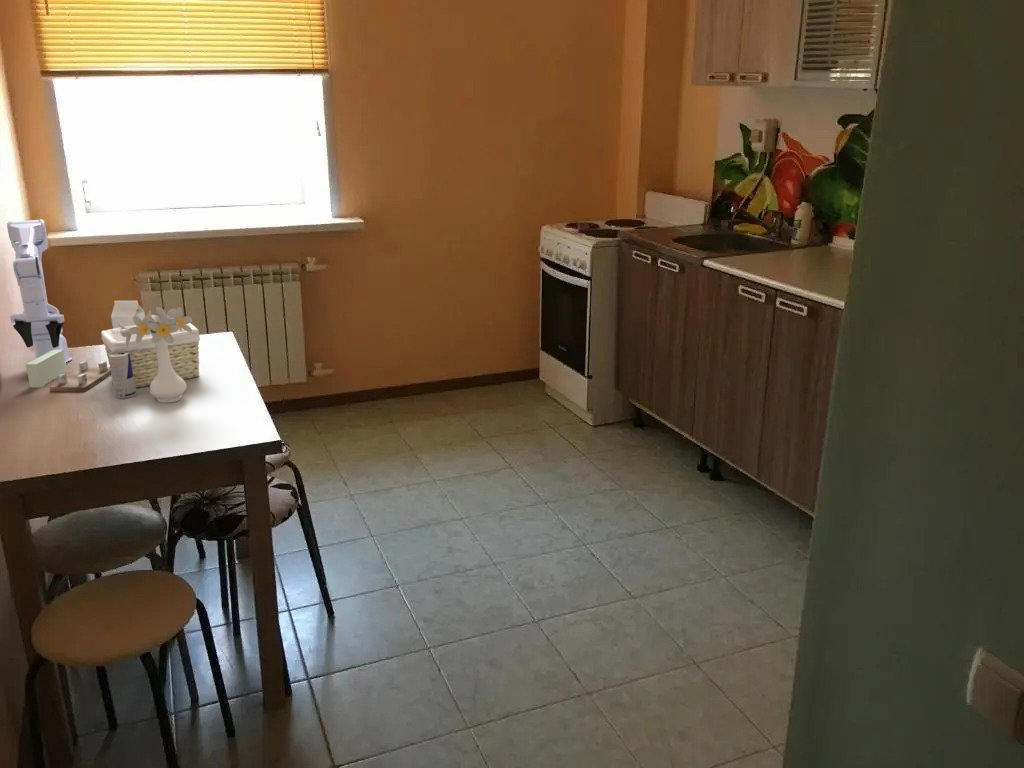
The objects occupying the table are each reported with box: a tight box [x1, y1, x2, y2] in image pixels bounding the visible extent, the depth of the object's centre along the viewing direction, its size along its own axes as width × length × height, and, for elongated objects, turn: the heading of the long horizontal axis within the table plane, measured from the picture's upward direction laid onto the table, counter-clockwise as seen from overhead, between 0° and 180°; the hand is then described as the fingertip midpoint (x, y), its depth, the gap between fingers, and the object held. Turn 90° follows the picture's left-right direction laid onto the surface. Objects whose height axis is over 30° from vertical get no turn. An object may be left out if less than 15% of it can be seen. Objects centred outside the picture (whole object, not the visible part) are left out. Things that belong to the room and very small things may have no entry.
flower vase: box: [117, 306, 193, 404], centre depth 228 cm, size 13×18×25 cm
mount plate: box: [49, 366, 111, 392], centre depth 247 cm, size 18×10×1 cm, turn 177°
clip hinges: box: [56, 360, 108, 385], centre depth 247 cm, size 14×7×2 cm, turn 177°
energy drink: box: [108, 351, 137, 400], centre depth 233 cm, size 5×5×12 cm
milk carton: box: [110, 300, 146, 329], centre depth 262 cm, size 7×7×19 cm
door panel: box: [25, 350, 68, 388], centre depth 248 cm, size 14×3×7 cm, turn 177°
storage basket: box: [100, 322, 201, 389], centre depth 247 cm, size 24×16×15 cm
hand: (42, 346), depth 246 cm, fingers open, 7 cm apart
